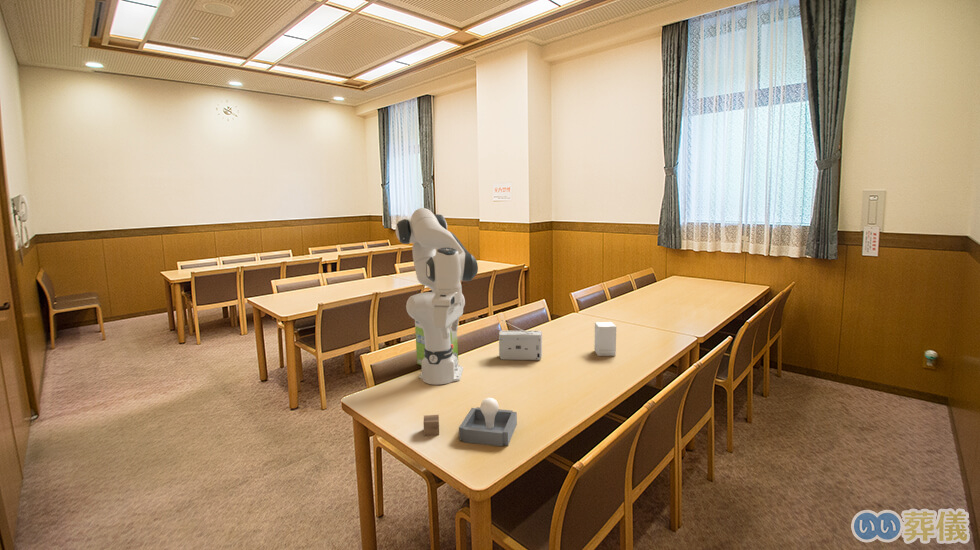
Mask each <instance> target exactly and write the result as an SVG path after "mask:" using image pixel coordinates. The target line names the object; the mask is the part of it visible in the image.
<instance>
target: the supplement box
mask: <svg viewBox="0 0 980 550" xmlns="http://www.w3.org/2000/svg"><path fill="white" fill-rule="evenodd" d="M593 347H594V348H593V349H594V350H595V351H594V352H595V354H596V355H597V356H598V357H609V356H610V357H614V356H615V357H616V354H617V351H616V350H617V326H616V325H615V323H613V322H612V321H602V322H601V321H596V322H594V346H593Z"/></svg>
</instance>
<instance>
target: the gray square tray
mask: <svg viewBox="0 0 980 550" xmlns="http://www.w3.org/2000/svg"><path fill="white" fill-rule="evenodd" d="M517 425H518V412H517V411H513V410H510V409H500V408H499V409H498V412H497V414H496V415H495V420H494V427H493V428H492V429H487V428H486V422H485V417H484V415H483V413H482V412H481V409H480V407H478V406H477V407H471V408H470V409H469V412H468V413H467V415H466V416H465V417H464V418H463V420H462V422H461V424H460V425H459V427H458V435H459V436H458V438H459V441H463V443H467V444H468V443H469V444H476V445H487V446H492V447H493V446H495V447H503V446H507V447H508V446H509V444H510V443H511V440H512V437H513V435H514V432H515V429H516V428H517Z"/></svg>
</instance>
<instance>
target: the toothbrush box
mask: <svg viewBox="0 0 980 550" xmlns="http://www.w3.org/2000/svg"><path fill="white" fill-rule="evenodd" d="M414 326H415V327H414V328H415V347H416V348H415V350H416V363H417V365H420V366H421V367H422V360H423V359H424V358H425V356H424V348H425V339H424V332H423V329H422V327H421V325H420V324H419V323H418V322H417V321H416V320H415V319H414ZM448 328H449V330H450V341H451V344H453V349H452V352H453V355H454V356H456V357H457V358H458V359H459V350H458V348H459V347H458V330H457V331H452V324H451V325H449V326H448Z"/></svg>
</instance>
